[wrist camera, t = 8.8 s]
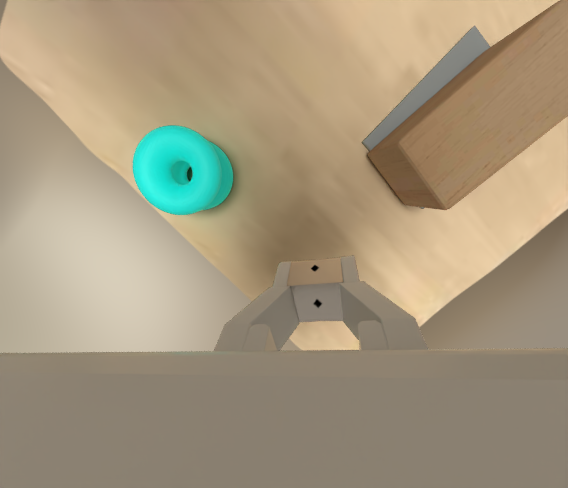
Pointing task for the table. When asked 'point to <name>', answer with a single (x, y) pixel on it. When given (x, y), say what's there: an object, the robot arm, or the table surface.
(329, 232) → the table surface
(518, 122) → the wooden block
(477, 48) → the rubber mat
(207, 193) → the donuts
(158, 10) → the table surface
